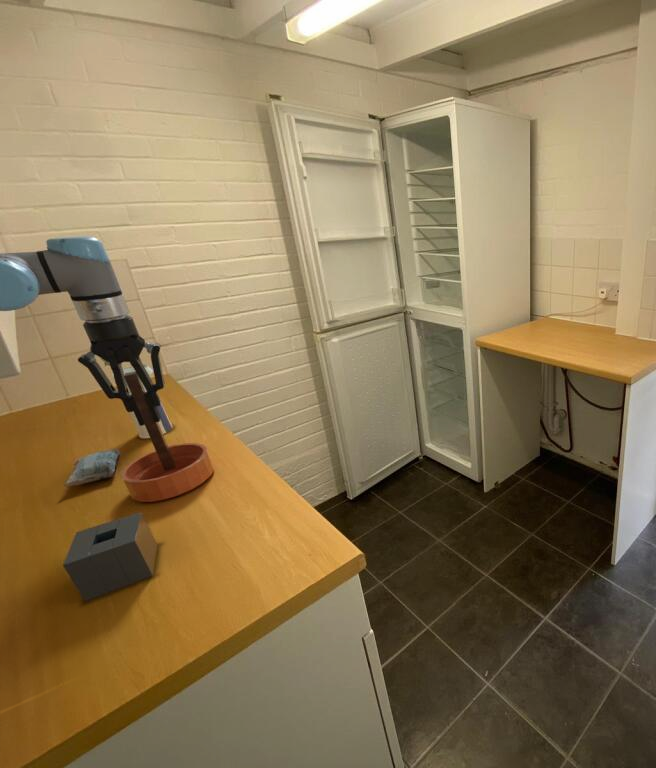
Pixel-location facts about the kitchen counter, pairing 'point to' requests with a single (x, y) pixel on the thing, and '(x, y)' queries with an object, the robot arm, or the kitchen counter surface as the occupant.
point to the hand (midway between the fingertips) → (150, 421)
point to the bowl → (167, 473)
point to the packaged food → (94, 467)
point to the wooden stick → (149, 421)
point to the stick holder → (111, 556)
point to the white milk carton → (164, 420)
